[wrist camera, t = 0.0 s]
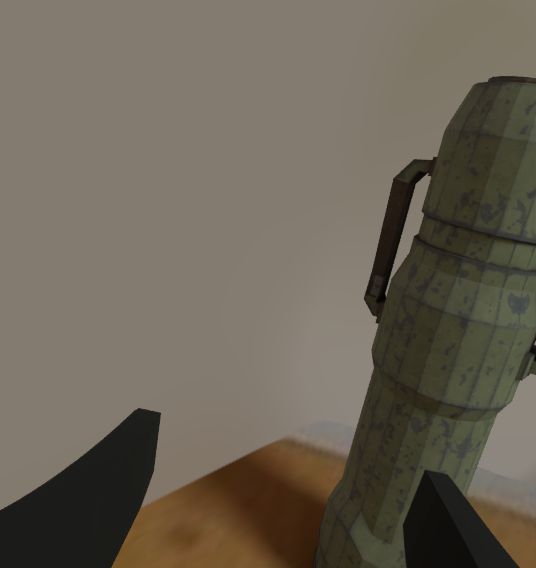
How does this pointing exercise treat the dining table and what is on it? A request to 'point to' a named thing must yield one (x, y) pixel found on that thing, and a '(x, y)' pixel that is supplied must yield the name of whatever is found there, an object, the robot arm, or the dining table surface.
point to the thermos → (443, 323)
